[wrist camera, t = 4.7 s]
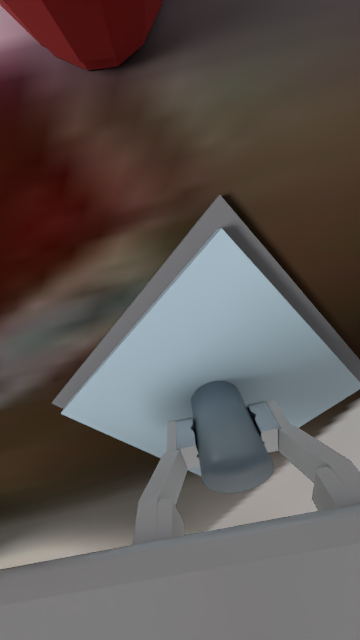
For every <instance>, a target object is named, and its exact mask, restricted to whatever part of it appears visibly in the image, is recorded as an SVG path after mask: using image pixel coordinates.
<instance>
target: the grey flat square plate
mask: <svg viewBox="0 0 360 640" xmlns="http://www.w3.org/2000/svg"><path fill="white" fill-rule="evenodd" d="M220 228H222V229H223V230H224V231H225V232H226V234H227V235H228V236H229V237H230V238H231V239H232V240H233V241H234V242H235V244H236V245H237V246H238V247H239V248H240V249H241V250H242V251H243V252H244V254H245V255H246V256H247V257H248V258H249V259H250V260H251V261H252V263H253V264H254V265H255V266H256V267H257V268H258V269H259V270H260V271H261V273H262V274H263V275H264V276H265V277H266V278H267V279H268V280H269V282H270V283H271V284H272V285H273V286H274V287H275V288H276V289H277V290H278V292H279V293H280V294H281V295H282V296H283V297H284V298H285V299H286V300H287V302H288V303H289V304H290V305H291V306H292V307H293V308H294V309H295V311H296V312H297V313H298V314H299V315H300V316H301V317H302V318H303V319H304V321H305V322H306V323H307V324H308V325H309V326H310V327H311V328H312V329H313V331H314V332H315V333H316V334H317V335H318V336H319V337H320V338H321V340H322V341H323V342H324V343H325V344H326V345H327V346H328V347H329V348H330V350H331V351H332V352H333V353H334V354H335V355H336V356H337V357H338V358H339V360H340V361H341V362H342V363H343V364H344V365H345V366H346V367H347V369H348V370H349V371H350V372H351V373H352V374H353V375H354V376H355V377H356V379H357V380H358V381H359V382H360V360H359V358H358V357H357V356H356V355H355V354H354V352H353V351H352V350H351V349H350V348H349V347H348V345H347V344H346V343H345V342H344V341H343V339H342V338H341V337H340V336H339V335H338V334H337V332H336V331H335V330H334V329H333V328H332V326H331V325H330V324H329V323H328V322H327V321H326V319H325V318H324V317H323V316H322V315H321V313H320V312H319V311H318V310H317V309H316V308H315V306H314V305H313V304H312V303H311V302H310V300H309V299H308V298H307V297H306V296H305V295H304V293H303V292H302V291H301V290H300V289H299V287H298V286H297V285H296V284H295V283H294V282H293V280H292V279H291V278H290V277H289V276H288V274H287V273H286V272H285V271H284V270H283V269H282V267H281V266H280V265H279V264H278V263H277V261H276V260H275V259H274V258H273V257H272V256H271V254H270V253H269V252H268V251H267V250H266V248H265V247H264V246H263V245H262V244H261V243H260V241H259V240H258V239H257V238H256V237H255V235H254V234H253V233H252V232H251V231H250V230H249V228H248V227H247V226H246V225H245V224H244V222H243V221H242V220H241V219H240V218H239V217H238V215H237V214H236V213H235V212H234V211H233V209H232V208H231V207H230V206H229V205H228V204H227V202H226V201H225V200H224V199H223V198H222V196H221V195H219V196H218V197H217V198H216V199H215V200H214V202H213V203H212V204H211V205H210V206H209V208H208V209H207V210H206V211H205V213H204V214H203V215H202V216H201V218H200V219H199V220H198V221H197V223H196V224H195V225H194V226H193V228H192V229H191V230H190V231H189V233H188V234H187V235H186V236H185V237H184V239H183V240H182V241H181V242H180V244H179V245H178V246H177V247H176V249H175V250H174V251H173V252H172V254H171V255H170V256H169V257H168V259H167V260H166V261H165V262H164V264H163V265H162V266H161V267H160V269H159V270H158V271H157V272H156V273H155V275H154V276H153V277H152V278H151V280H150V281H149V282H148V283H147V285H146V286H145V287H144V288H143V290H142V291H141V292H140V293H139V295H138V296H137V297H136V298H135V300H134V301H133V302H132V303H131V305H130V306H129V307H128V308H127V309H126V311H125V312H124V313H123V314H122V316H121V317H120V318H119V319H118V321H117V322H116V323H115V324H114V326H113V327H112V328H111V329H110V331H109V332H108V333H107V334H106V336H105V337H104V338H103V339H102V341H101V342H100V343H99V344H98V345H97V347H96V348H95V349H94V350H93V352H92V353H91V354H90V355H89V357H88V358H87V359H86V360H85V362H84V363H83V364H82V365H81V367H80V368H79V369H78V370H77V372H76V373H75V374H74V375H73V377H72V378H71V379H70V380H69V381H68V383H67V384H66V385H65V386H64V388H63V389H62V390H61V391H60V393H59V394H58V395H57V396H56V398H55V399H54V400H53V402H52V404H54V405H56V406H58V407H60V408H63V409H64V408H65V406H66V404H67V403H68V402H69V401H70V399H71V398H72V397H73V396H74V395H75V394H76V392H77V391H78V390H79V389H80V388H81V387H82V385H83V384H84V383H85V382H86V381H87V380H88V378H89V377H90V376H91V375H92V374H93V373H94V372H95V370H96V369H97V368H98V367H99V366H100V365H101V363H102V362H103V361H104V360H105V359H106V358H107V356H108V355H109V354H110V353H111V352H112V351H113V349H114V348H115V347H116V346H117V345H118V344H119V343H120V341H121V340H122V339H123V338H124V337H125V336H126V334H127V333H128V332H129V331H130V330H131V329H132V327H133V326H134V325H135V324H136V323H137V322H138V320H139V319H140V318H141V317H142V316H143V315H144V313H145V312H146V311H147V310H148V309H149V308H150V307H151V305H152V304H153V303H154V302H155V301H156V300H157V298H158V297H159V296H160V295H161V294H162V293H163V291H164V290H165V289H166V288H167V287H168V286H169V284H170V283H171V282H172V281H173V280H174V279H175V277H176V276H177V275H178V274H179V273H180V272H181V271H182V269H183V268H184V267H185V266H186V265H187V264H188V262H189V261H190V260H191V259H192V258H193V257H194V255H195V254H196V253H197V252H198V251H199V250H200V248H201V247H202V246H203V245H204V244H205V243H206V242H207V240H208V239H209V238H210V237H211V236H212V235H213V233H214V232H215V231H216V230H217V229H220Z"/></svg>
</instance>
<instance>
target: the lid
mask: <svg viewBox="0 0 360 640" xmlns="http://www.w3.org/2000/svg"><path fill="white" fill-rule="evenodd" d="M359 389H360V382H359V381H358V380H357V379H356V377H355V376H354V375H353V374H352V373H351V372H350V371H349V370H348V369H347V367H346V366H345V365H344V364H343V363H342V362H341V361H340V360H339V358H338V357H337V356H336V355H335V354H334V353H333V352H332V351H331V350H330V348H329V347H328V346H327V345H326V344H325V343H324V342H323V341H322V340H321V338H320V337H319V336H318V335H317V334H316V333H315V332H314V331H313V329H312V328H311V327H310V326H309V325H308V324H307V323H306V322H305V321H304V319H303V318H302V317H301V316H300V315H299V314H298V313H297V312H296V311H295V309H294V308H293V307H292V306H291V305H290V304H289V303H288V302H287V300H286V299H285V298H284V297H283V296H282V295H281V294H280V293H279V292H278V290H277V289H276V288H275V287H274V286H273V285H272V284H271V283H270V282H269V280H268V279H267V278H266V277H265V276H264V275H263V274H262V273H261V271H260V270H259V269H258V268H257V267H256V266H255V265H254V264H253V263H252V261H251V260H250V259H249V258H248V257H247V256H246V255H245V254H244V252H243V251H242V250H241V249H240V248H239V247H238V246H237V245H236V244H235V242H234V241H233V240H232V239H231V238H230V237H229V236H228V235H227V234H226V232H225V231H224V230H223V229H222V228H220V229H217V230H216V231H215V232H214V233H213V235H212V236H211V237H210V238H209V239H208V240H207V242H206V243H205V244H204V245H203V246H202V247H201V248H200V250H199V251H198V252H197V253H196V254H195V255H194V257H193V258H192V259H191V260H190V261H189V262H188V264H187V265H186V266H185V267H184V268H183V269H182V271H181V272H180V273H179V274H178V275H177V276H176V277H175V279H174V280H173V281H172V282H171V283H170V284H169V286H168V287H167V288H166V289H165V290H164V291H163V293H162V294H161V295H160V296H159V297H158V298H157V300H156V301H155V302H154V303H153V304H152V305H151V307H150V308H149V309H148V310H147V311H146V312H145V313H144V315H143V316H142V317H141V318H140V319H139V320H138V322H137V323H136V324H135V325H134V326H133V327H132V329H131V330H130V331H129V332H128V333H127V334H126V336H125V337H124V338H123V339H122V340H121V341H120V343H119V344H118V345H117V346H116V347H115V348H114V349H113V351H112V352H111V353H110V354H109V355H108V356H107V358H106V359H105V360H104V361H103V362H102V363H101V365H100V366H99V367H98V368H97V369H96V370H95V372H94V373H93V374H92V375H91V376H90V377H89V378H88V380H87V381H86V382H85V383H84V384H83V385H82V387H81V388H80V389H79V390H78V391H77V392H76V394H75V395H74V396H73V397H72V398H71V399H70V401H69V402H68V403H67V404H66V406H65V408H64V409H63V411H62V412H61V414H63V415H65V416H67V417H69V418H71V419H74V420H76V421H78V422H80V423H83V424H85V425H87V426H89V427H92V428H94V429H96V430H98V431H101V432H103V433H105V434H107V435H110V436H112V437H114V438H116V439H118V440H121V441H123V442H125V443H127V444H130V445H132V446H134V447H136V448H139V449H141V450H143V451H145V452H148V453H150V454H152V455H154V456H157V457H159V458H161V457H162V456H163V454H164V453H165V452H167V422H169V421H173V420H179V419H184V418H189V417H193V419H194V426H195V433H196V440H197V448H198V455H199V462H200V466H198V467H194V468H190V469H187V470H188V471H190V472H192V473H195V474H197V475H199V476H201V477H202V482H203V484H204V485H205V486H206V487H207V488H209V489H211V490H213V491H216V492H221V493H236V492H242V491H246V490H250V489H252V488H255V487H257V486H259V485H261V484H262V483H264V482H265V481H266V480H267V479H268V478H269V477H270V476H271V474H272V473H273V469H274V465H273V462H272V460H271V458H270V456H269V454H268V452H267V449H266V447H265V445H264V443H263V441H262V439H261V437H260V435H259V432H258V430H257V428H256V426H255V424H254V422H253V420H252V417H251V415H250V413H249V411H248V409H247V405H248V404H253V403H257V402H261V401H267V400H271V399H273V400H275V401H276V403H277V404H278V406H279V407H280V409H281V410H282V412H283V413H284V415H285V416H286V418H287V419H288V421H289V422H290V424H291V425H292V426H296V427H298V428H299V427H301V426H302V425H304V424H305V423H307V422H309V421H310V420H312V419H313V418H315V417H317V416H318V415H320V414H321V413H323V412H324V411H326V410H328V409H329V408H331V407H332V406H334V405H336V404H337V403H339V402H340V401H342V400H343V399H345V398H347V397H348V396H350V395H351V394H353V393H355V392H356V391H358V390H359Z"/></svg>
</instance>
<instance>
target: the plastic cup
mask: <svg viewBox="0 0 360 640" xmlns="http://www.w3.org/2000/svg"><path fill="white" fill-rule="evenodd" d="M0 5H1V6H2V7H3V8H4V9H5V10H6V11H7V12H8V13H9V14H10V15H11V16H12V17H13V18H14V19H15V20H16V21H17V22H18V23H19V24H20V25H21V26H22V27H23V28H24V29H25V30H26V31H27V32H28V33H30V34H31V35H32V36H33V37H34V38H35V39H36V40H37V41H38V42H39V43H40V44H41V45H42V46H44V47H46V48H47V49H48V50H49V51H50V52H51V53H52V54H53V55H54V56H55V57H57V58H60V59H62V60H64V61H67V62H69V63H71V64H74V65H76V66H78V67H81V68H83V69H86V70H88V71H89V70H96V69H103V68H110V67H117V66H119V65H120V64H121V63H123V62H124V61H125V60H126V59H127V58H128V57H130V56H131V55H132V54H133V53H134V52H135V51H137V50H138V49H139V48H140V47H141V46H142V45H144V42H145V40H146V38H147V36H148V34H149V32H150V30H151V27H152V25H153V23H154V21H155V19H156V17H157V14H158V12H159V10H160V8H161V6H162V0H0Z"/></svg>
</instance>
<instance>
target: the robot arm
mask: <svg viewBox="0 0 360 640" xmlns="http://www.w3.org/2000/svg"><path fill="white" fill-rule="evenodd" d="M247 409H248V411H249V413H250V415H251V417H252V420H253V422H254V424H255V426H256V428H257V430H258V432H259V435H260V437H261V439H262V441H263V443H264V445H265V447H266V449H267V452H274V451H279V452H280V453H281V454H282V455H283V456H284V457H285V458H287V459H288V460H289V461H290V462H291V463H292V464H293V465H294V466H295V467H297V468H298V469H299V470H300V471H301V472H302V473H303V474H304V475H306V476H307V477H308V478H309V479H310V480H311V481H312V482H313V483H314V489H313V495H312V500H313V501H314V504H315V505H316V507H317V509H318V511H316V512H310V513H305V514H299V515H294V516H288V517H283V518H278V519H272V520H267V521H261V522H256V523H250V524H245V525H239V526H234V527H229V528H224V529H218V530H212V531H207V532H201V533H196V534H191V535H185V532H184V522H183V520H182V518H181V516H180V515H179V513H178V511H177V509H176V507H175V506H176V503H177V500H178V497H179V494H180V491H181V488H182V485H183V482H184V479H185V476H186V473H187V469H190V468H194V467H198V466H200V462H199V455H198V448H197V440H196V433H195V426H194V419H193V417H189V418H184V419H179V420H173V421H169V422H167V452H165V453H164V454H163V456H162V457H161V459H160V461H159V463H158V465H157V467H156V469H155V471H154V473H153V475H152V477H151V478H150V480H149V482H148V484H147V486H146V488H145V490H144V492H143V494H142V496H141V497H140V499H139V501H138V507H137V515H136V524H135V532H134V540H133V545H131V546H125V547H120V548H114V549H109V550H104V551H98V552H93V553H87V554H82V555H76V556H71V557H66V558H60V559H55V560H49V561H44V562H39V563H33V564H28V565H23V566H17V567H12V568H6V569H0V640H360V472H359V471H358V469H357V468H356V467H355V466H354V465H353V463H352V462H351V461H350V460H348V459H346V458H345V457H344V456H342V455H340V454H339V453H337V452H336V451H334V450H333V449H331V448H329V447H328V446H326V445H325V444H323V443H321V442H320V441H318V440H317V439H315V438H314V437H312V436H310V435H309V434H307V433H306V432H304V431H303V430H301V429H299V428H298V427H296V426H292V425H291V424H290V422H289V421H288V419H287V418H286V416H285V415H284V413H283V412H282V410H281V409H280V407H279V406H278V404H277V403H276V401H275V400H273V399H271V400H267V401H261V402H257V403H253V404H248V405H247Z"/></svg>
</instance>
